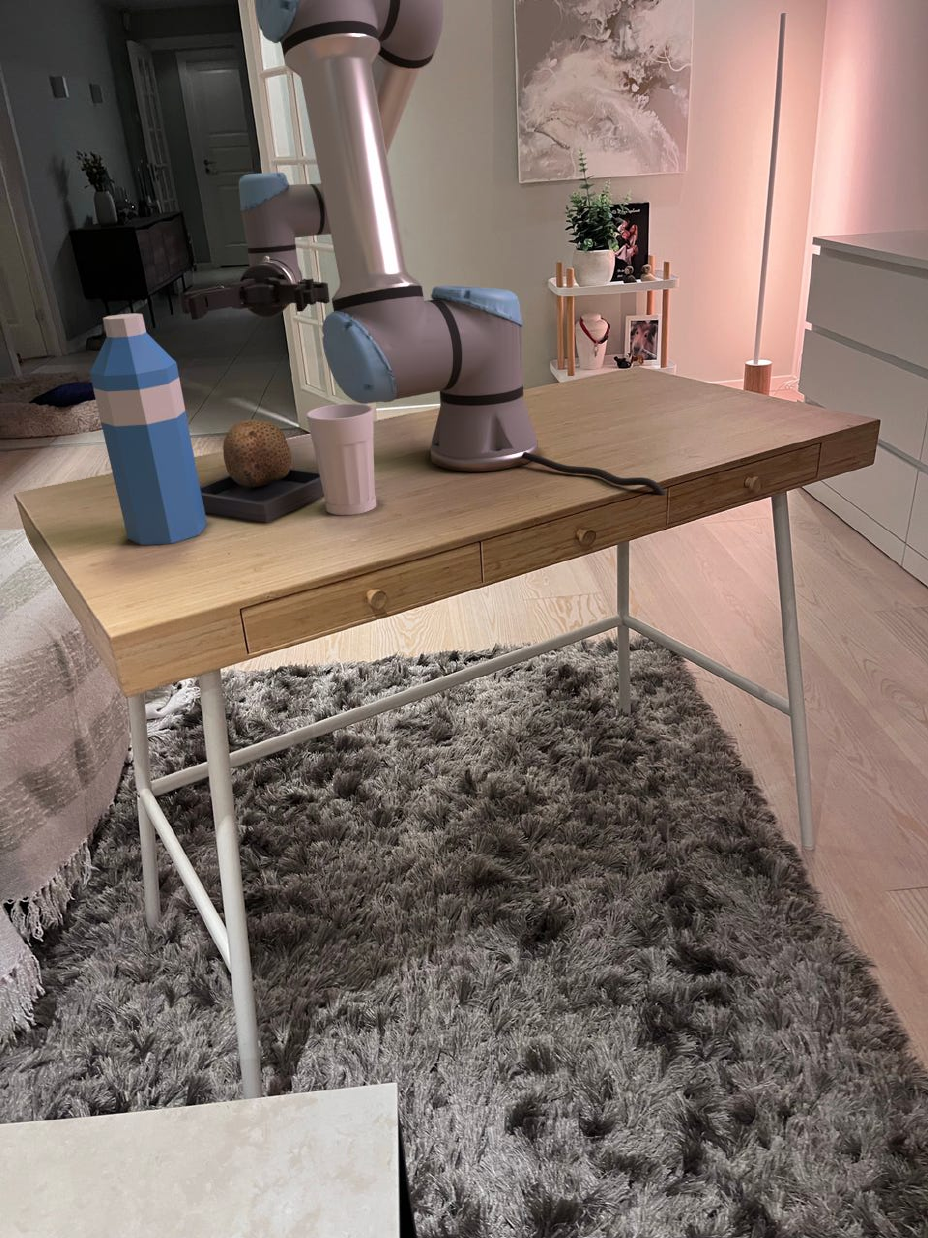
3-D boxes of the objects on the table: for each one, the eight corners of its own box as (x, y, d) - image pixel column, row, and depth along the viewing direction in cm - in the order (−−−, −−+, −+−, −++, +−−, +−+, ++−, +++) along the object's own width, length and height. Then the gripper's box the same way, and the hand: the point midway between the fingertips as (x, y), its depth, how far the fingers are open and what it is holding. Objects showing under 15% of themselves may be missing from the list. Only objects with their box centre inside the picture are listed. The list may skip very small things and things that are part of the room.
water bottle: (125, 526, 116) (77, 316, 105) (202, 513, 119) (162, 307, 108) (130, 550, 108) (78, 325, 97) (212, 536, 111) (170, 315, 100)
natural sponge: (282, 511, 125) (294, 455, 130) (287, 469, 117) (300, 411, 123) (213, 498, 123) (228, 441, 129) (214, 454, 116) (230, 396, 121)
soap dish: (335, 490, 124) (333, 473, 123) (266, 522, 114) (263, 504, 113) (258, 479, 131) (256, 463, 130) (187, 509, 120) (183, 492, 119)
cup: (378, 493, 122) (369, 400, 117) (387, 512, 115) (377, 414, 109) (317, 501, 120) (304, 407, 115) (321, 520, 113) (308, 422, 108)
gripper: (179, 267, 139) (142, 281, 119) (348, 255, 139) (338, 266, 120) (189, 320, 142) (154, 341, 123) (354, 307, 142) (345, 327, 123)
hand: (245, 304), depth 121 cm, fingers open, 13 cm apart
